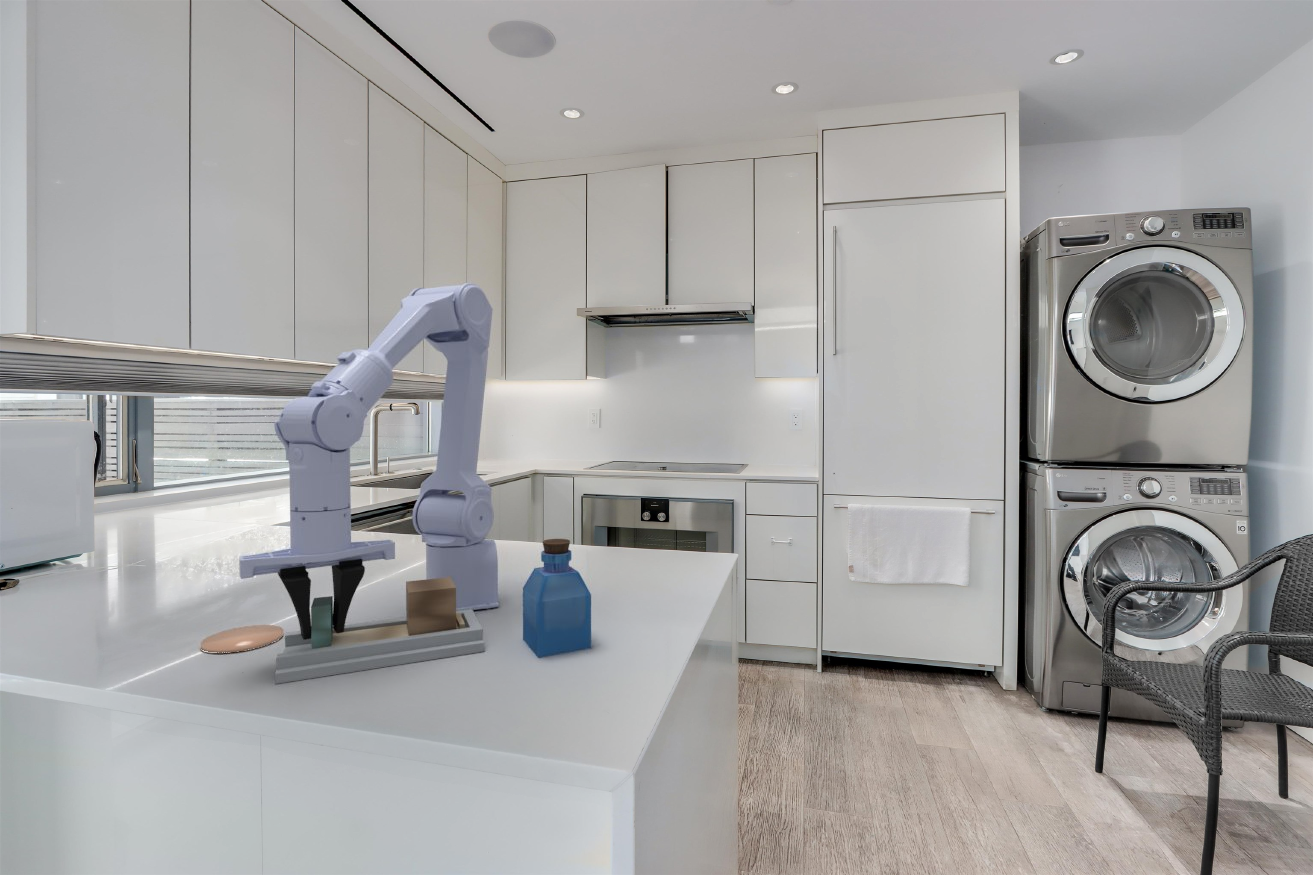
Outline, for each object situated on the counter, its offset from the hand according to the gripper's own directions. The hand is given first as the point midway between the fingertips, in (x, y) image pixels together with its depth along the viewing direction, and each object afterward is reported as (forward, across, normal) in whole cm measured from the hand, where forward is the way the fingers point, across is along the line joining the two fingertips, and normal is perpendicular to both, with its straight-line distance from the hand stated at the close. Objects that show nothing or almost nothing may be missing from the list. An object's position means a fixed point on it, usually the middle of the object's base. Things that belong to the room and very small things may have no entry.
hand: (322, 633), depth 65 cm
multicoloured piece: (+2, -7, +2) cm, 7 cm away
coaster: (+3, +6, -12) cm, 14 cm away
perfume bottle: (+3, -22, +11) cm, 25 cm away
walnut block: (+1, -11, +2) cm, 11 cm away
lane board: (+3, -6, +1) cm, 7 cm away
